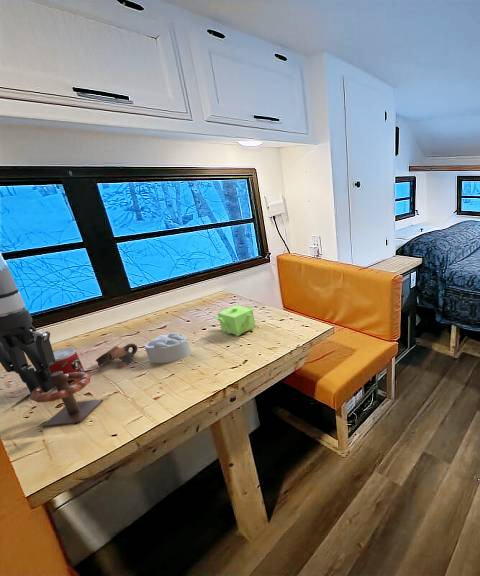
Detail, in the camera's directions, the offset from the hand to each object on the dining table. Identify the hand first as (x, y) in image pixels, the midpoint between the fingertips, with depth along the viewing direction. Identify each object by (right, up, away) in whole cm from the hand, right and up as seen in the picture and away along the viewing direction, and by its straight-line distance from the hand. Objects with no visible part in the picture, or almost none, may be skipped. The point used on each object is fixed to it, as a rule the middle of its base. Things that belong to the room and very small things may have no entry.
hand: (43, 389), depth 83 cm
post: (+5, -9, +4) cm, 11 cm away
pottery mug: (-3, 0, +29) cm, 29 cm away
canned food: (-12, -4, +19) cm, 23 cm away
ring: (+5, +1, 0) cm, 5 cm away
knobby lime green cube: (+30, +9, +50) cm, 59 cm away
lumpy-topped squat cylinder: (+14, +1, +32) cm, 35 cm away
